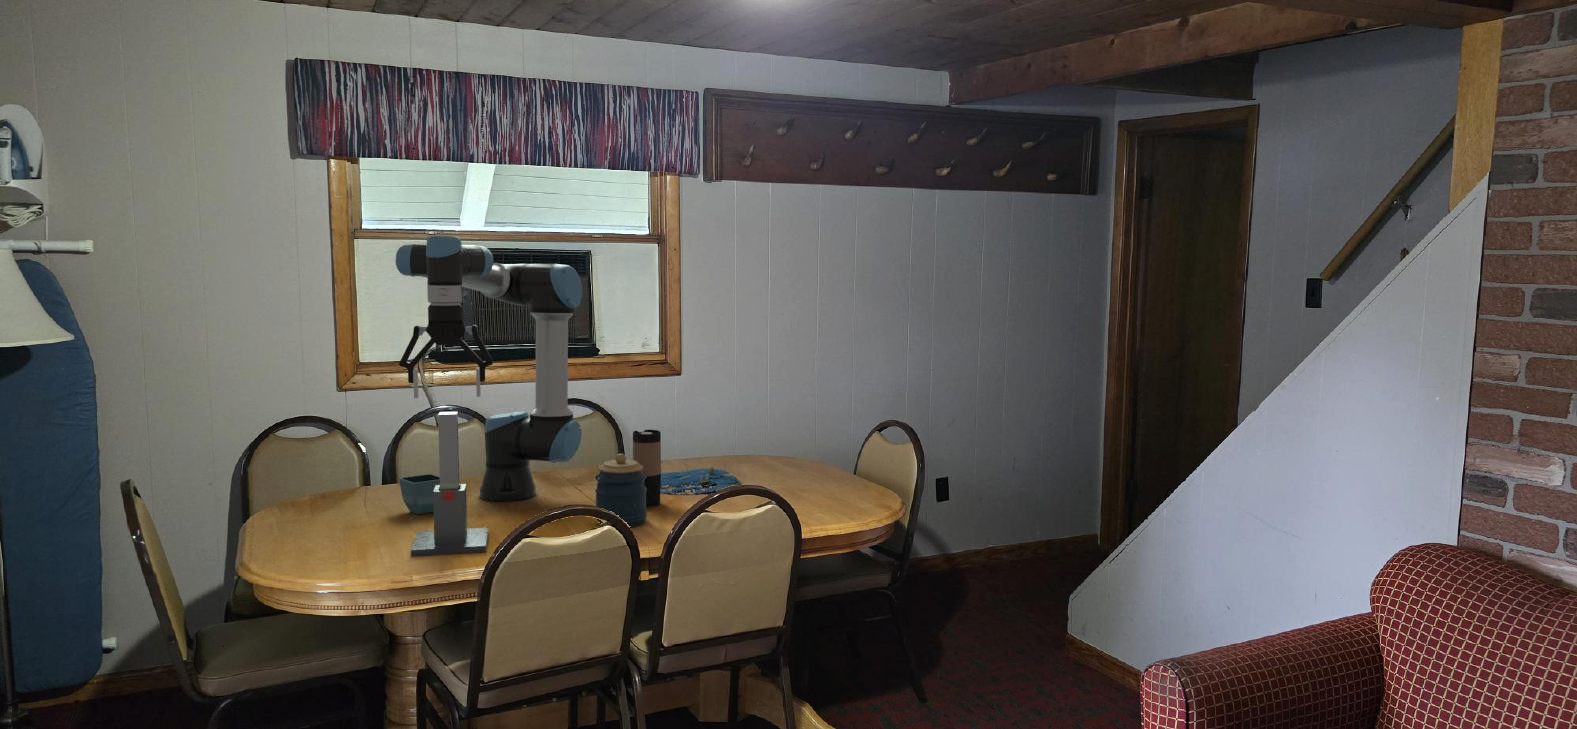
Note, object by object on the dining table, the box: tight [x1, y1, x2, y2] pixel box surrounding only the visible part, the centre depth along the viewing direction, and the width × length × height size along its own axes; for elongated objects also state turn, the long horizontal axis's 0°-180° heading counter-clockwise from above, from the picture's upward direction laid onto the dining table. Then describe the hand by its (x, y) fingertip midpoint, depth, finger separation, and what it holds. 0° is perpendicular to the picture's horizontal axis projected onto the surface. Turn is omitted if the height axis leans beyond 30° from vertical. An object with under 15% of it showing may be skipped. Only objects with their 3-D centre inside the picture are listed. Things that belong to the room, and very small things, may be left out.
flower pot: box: [398, 473, 440, 515], centre depth 266 cm, size 9×9×9 cm
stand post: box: [437, 411, 461, 491], centre depth 235 cm, size 4×4×23 cm
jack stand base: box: [410, 483, 489, 558], centre depth 236 cm, size 16×16×14 cm
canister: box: [594, 453, 648, 528], centre depth 257 cm, size 13×13×18 cm
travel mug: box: [632, 429, 662, 508], centre depth 276 cm, size 8×8×20 cm
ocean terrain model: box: [660, 466, 741, 495], centre depth 302 cm, size 30×30×5 cm
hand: (447, 397), depth 233 cm, fingers open, 13 cm apart
